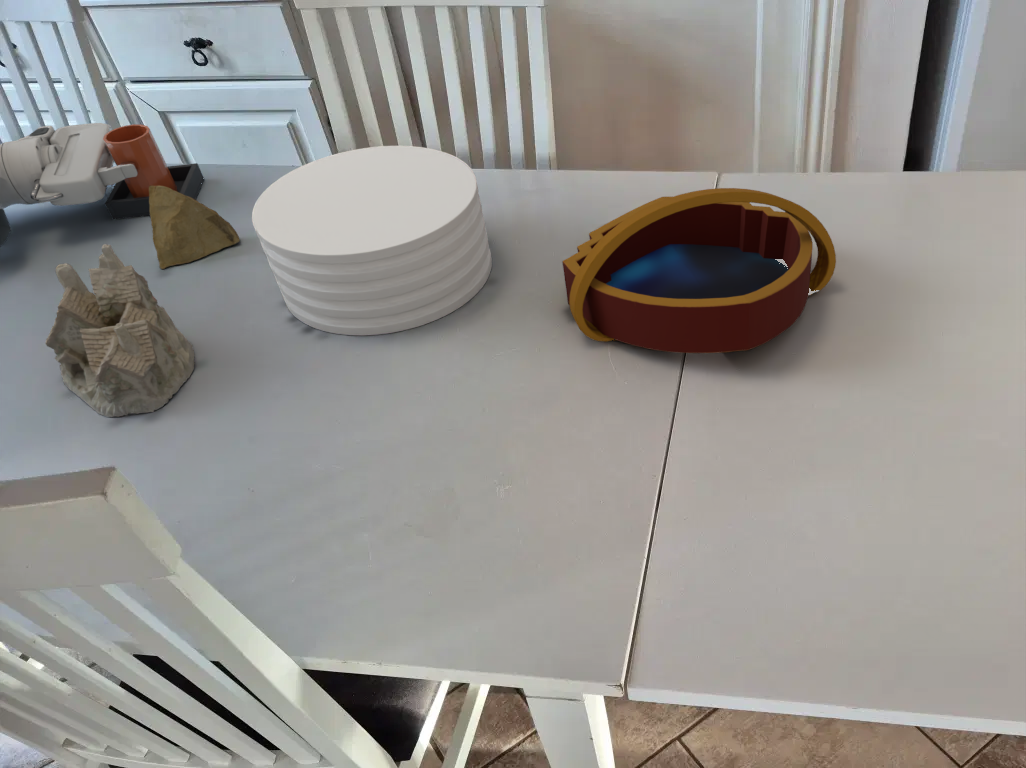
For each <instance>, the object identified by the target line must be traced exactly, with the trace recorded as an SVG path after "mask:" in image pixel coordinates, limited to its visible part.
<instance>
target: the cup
mask: <svg viewBox="0 0 1026 768" xmlns="http://www.w3.org/2000/svg"><path fill="white" fill-rule="evenodd" d="M103 140H104V142H105V144H106V146H107V148H108V150H109V152H110V154H111V156H112V158H113V160H114V164H115V166H118V165H121V163H122V162H129V161H133V162H134V163H135V164H136V166H137V168H138V174H137V176H136V177H131V178H126V179H124V181H125V183H126V185H127V187H128V189H129V191H130V193H131V195H132V197H133V198H138V197H147V196H149V186H150V185H151V186H165V187H168V188H171V189H172V190H174V191H177V192H178V189H177V186H176V184H175V182H174V180H173V178H172V175H171V173H170V171H169V169H168V165H167V162H166V161H165V159H164V156H163V154H162V152H161V150H160V148H159V146H158V144H157V141H156V139H155V137H154V135H153V133H152V131H151V129H150V127H149V126H147V125H145V124H135V123H134V124H128V125H122V126H119V127H116V128H114V129H112V130H111V131H109V132H108V133H107V134H105V135H104V137H103Z"/></svg>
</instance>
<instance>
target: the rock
mask: <svg viewBox="0 0 1026 768" xmlns="http://www.w3.org/2000/svg"><path fill="white" fill-rule="evenodd" d="M149 204H150V222H151V224H150V225H151V231H152V242H153V246H154V248H155V251H156V258H157V260H158V265H159V266H158V267H159V268H160V269H161V270H165V269H166V268H169V267H171V266H177V265H184V264H188V263H192V262H193V261H197V260H199V259H202V258H204V257H207V256H208V255H211V254H213V253H216V252H219V251H221V250H222V249H224V248H228V247H231V246H233V245H236V244H238V243H240V241H241V240H240V236H239V235H238V232H237V231H236V229H234V227H233V226H232V225H231V223H230V222H229V221H227V220H226V219H224V218H223V217H222V216H221V215H220V214H219V213H218V212H217V211H216V210H214V209H212V208H210V207H208V206H206V205H205V204H204V203H202V202H200V201H198V200H197V199H196V200H195V199H193V198H191V197H189V196H185V195H183V194H181V193H179V192H177V191H174V190H172V189H171V188H168V187H165V186H151V185H150V186H149Z"/></svg>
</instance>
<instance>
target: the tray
mask: <svg viewBox="0 0 1026 768" xmlns="http://www.w3.org/2000/svg"><path fill="white" fill-rule="evenodd" d="M167 167H168V169H169V171H170V173H171V175H172V178H173V180H174V182H175V184H176V186H177V189H178V192H179V193H181V194H183V195H185V196H189V197H191V198H193V199H195V200H197V198H198V196H199V193H200V190H201V188H202V185H203V183H204V181H205V178H204V177H205V176H204V175H203V172H202V171H201V168H200V165H199V163H197V162H196V163H195V162H194V163H187V164H178V165H177V164H176V165H170V166H169V165H167ZM203 178H204V179H203ZM201 183H202V184H201ZM104 205H105V207H106V209H107V211H108V213H109V214H110V216H111V219H112V220H113V221H114V220H124V219H132V218H140V217H141V218H142V217H149V216H150V204H149V196H147V197H138V198H133V197H132V195H131V193H130V191H129V189H128V187H127V185H126V183H125V181H124V180H122V181H120V182H118V183H115V184H114V186H113V188H112V189H111V191H110V193H109V195H108V197H107V199H106V200H105V202H104Z"/></svg>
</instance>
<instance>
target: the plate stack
mask: <svg viewBox="0 0 1026 768" xmlns="http://www.w3.org/2000/svg"><path fill="white" fill-rule="evenodd" d="M475 174H476V173H475V172H474V171H473V169H472V168H471V167H470V165H468V164H467V163H466V162H465V161H464V160H462V159H461V158H459V157H457V156H455V155H452V154H450V153H448V152H445V151H441V150H439V149H434V148H430V147H423V146H415V145H379V146H371V147H364V148H363V147H362V148H356V149H351V150H346V151H343V152H338V153H335V154H330V155H327V156H324V157H321V158H317V159H316V160H312V161H310V162H308V163H305V164H303V165H301V166H299V167H297V168H294V169H293V170H291V171H289V172H287V173H286V174H284V175H283V176H281V177H279V178H278V179H277V180H275V181H274V182H272V184H270V185H269V186H268V187H266V188H265V190H264V191H263V192H262V193H261V194H260V195H259V197H258V198H257V200H256V201H255V204H254V205H253V208H252V213H251V221H252V225H253V228H254V231H255V233H256V235H257V237H258V239H259V242H260V245H261V247H262V250H263V253H264V254H265V256H266V259H267V262H268V264H269V267H270V270H271V271H272V273H273V275H274V279H275V281H276V284H277V287H278V289H279V291H280V292H281V296H282V298H283V300H284V303H285V305H286V308H287V309H288V311H289V312H290V313H291V315H293V316H294V318H296V319H297V320H299V321H300V322H301V323H304V324H305V325H307V326H308V327H311V328H313V329H316V330H319V331H322V332H326V333H329V334H337V335H344V336H379V335H386V334H394V333H398V332H402V331H403V332H404V331H407V330H411V329H415V328H418V327H421V326H424V325H427V324H429V323H430V324H431V323H432V322H435V321H437V320H439V319H441V318H444V317H446V316H448V315H450V314H452V313H453V312H455V311H457V310H458V309H460V308H461V307H463V306H464V305H465V304H467V303H468V302H469V301H470V300H472V299H473V298H474V297H475V296H476V295H477V294H478V293H479V292H480V291H481V290H482V289H483V287H484V286H485V284H486V283H487V281H488V279H489V277H490V274H491V271H492V266H493V259H492V253H491V248H490V245H489V238H488V233H487V229H486V222H485V217H484V214H483V213H484V212H483V207H482V201H481V197H480V193H479V186H478V185H479V184H478V180H477V177H476V175H475Z"/></svg>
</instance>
